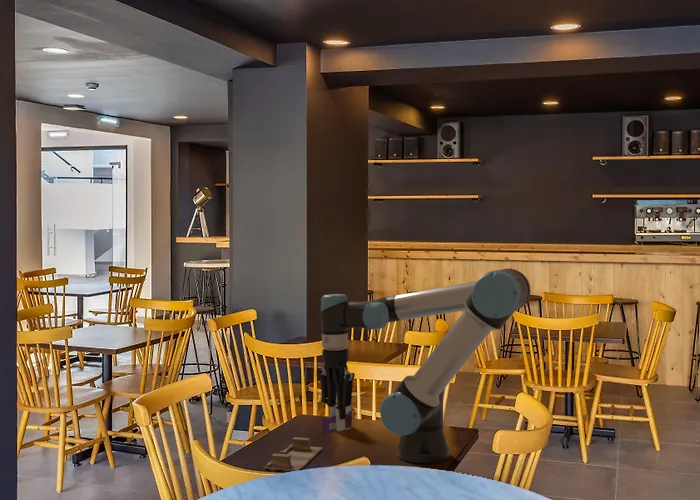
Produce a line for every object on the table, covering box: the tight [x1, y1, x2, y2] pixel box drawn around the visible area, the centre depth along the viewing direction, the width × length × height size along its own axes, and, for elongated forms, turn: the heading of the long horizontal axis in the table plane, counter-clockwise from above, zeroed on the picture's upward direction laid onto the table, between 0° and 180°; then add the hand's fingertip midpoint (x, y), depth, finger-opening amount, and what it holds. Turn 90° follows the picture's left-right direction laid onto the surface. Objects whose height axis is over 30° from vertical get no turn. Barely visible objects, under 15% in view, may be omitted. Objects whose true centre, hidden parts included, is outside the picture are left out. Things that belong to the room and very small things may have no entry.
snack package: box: [321, 411, 353, 436], centre depth 221 cm, size 12×2×5 cm, turn 135°
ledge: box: [264, 436, 323, 472], centre depth 223 cm, size 22×10×4 cm, turn 165°
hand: (337, 429), depth 221 cm, fingers closed on snack package, 2 cm apart
